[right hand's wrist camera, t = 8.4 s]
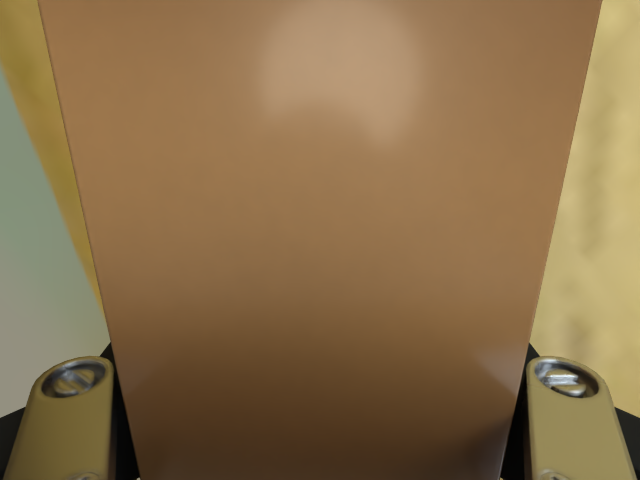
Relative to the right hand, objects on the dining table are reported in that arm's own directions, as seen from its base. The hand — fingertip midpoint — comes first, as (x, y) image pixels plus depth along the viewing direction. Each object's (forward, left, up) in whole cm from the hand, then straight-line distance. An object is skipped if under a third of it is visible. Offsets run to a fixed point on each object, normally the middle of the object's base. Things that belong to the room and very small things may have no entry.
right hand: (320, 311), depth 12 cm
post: (+25, 0, -2) cm, 25 cm away
